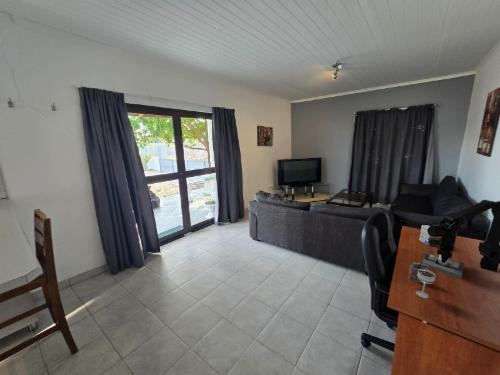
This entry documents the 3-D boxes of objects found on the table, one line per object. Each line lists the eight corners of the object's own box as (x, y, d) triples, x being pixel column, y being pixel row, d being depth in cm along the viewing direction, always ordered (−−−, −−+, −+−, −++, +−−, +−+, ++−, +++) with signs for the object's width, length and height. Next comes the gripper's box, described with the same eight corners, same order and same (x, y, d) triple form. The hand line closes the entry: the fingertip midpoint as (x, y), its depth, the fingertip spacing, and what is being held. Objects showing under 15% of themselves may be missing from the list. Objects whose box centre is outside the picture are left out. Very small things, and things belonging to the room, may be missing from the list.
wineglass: (414, 287, 109) (418, 266, 106) (431, 293, 105) (436, 272, 102) (413, 295, 104) (417, 273, 101) (431, 301, 100) (436, 279, 97)
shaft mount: (463, 267, 124) (465, 259, 123) (461, 278, 115) (463, 269, 113) (426, 256, 136) (427, 248, 135) (421, 265, 127) (423, 257, 126)
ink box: (435, 245, 148) (438, 230, 146) (427, 245, 148) (431, 230, 146) (425, 239, 157) (428, 225, 154) (418, 239, 157) (421, 225, 154)
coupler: (448, 263, 125) (451, 252, 123) (447, 266, 122) (450, 255, 120) (438, 259, 128) (440, 249, 126) (436, 263, 125) (439, 252, 123)
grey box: (408, 279, 115) (411, 263, 112) (407, 276, 118) (410, 260, 115) (427, 284, 111) (430, 267, 109) (425, 280, 114) (429, 264, 112)
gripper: (433, 227, 133) (428, 249, 136) (427, 237, 120) (423, 261, 124) (458, 233, 125) (452, 256, 128) (454, 244, 112) (448, 270, 116)
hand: (443, 260), depth 124 cm, fingers closed on coupler, 4 cm apart
